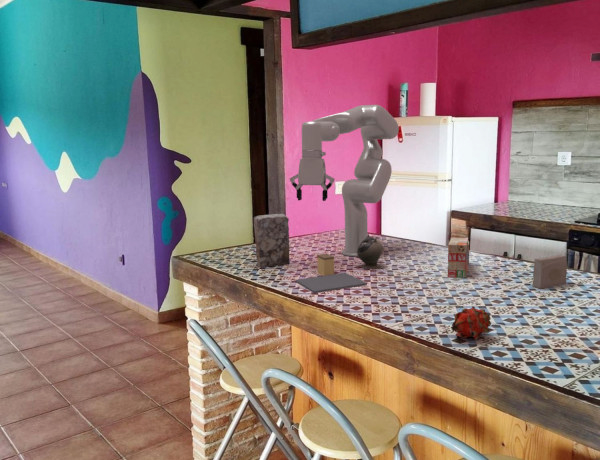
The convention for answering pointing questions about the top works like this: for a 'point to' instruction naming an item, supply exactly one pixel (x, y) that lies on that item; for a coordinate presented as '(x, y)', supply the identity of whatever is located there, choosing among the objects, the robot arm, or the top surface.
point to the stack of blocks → (458, 257)
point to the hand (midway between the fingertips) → (311, 200)
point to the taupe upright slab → (549, 272)
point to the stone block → (271, 239)
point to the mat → (330, 282)
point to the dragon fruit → (471, 323)
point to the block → (325, 264)
